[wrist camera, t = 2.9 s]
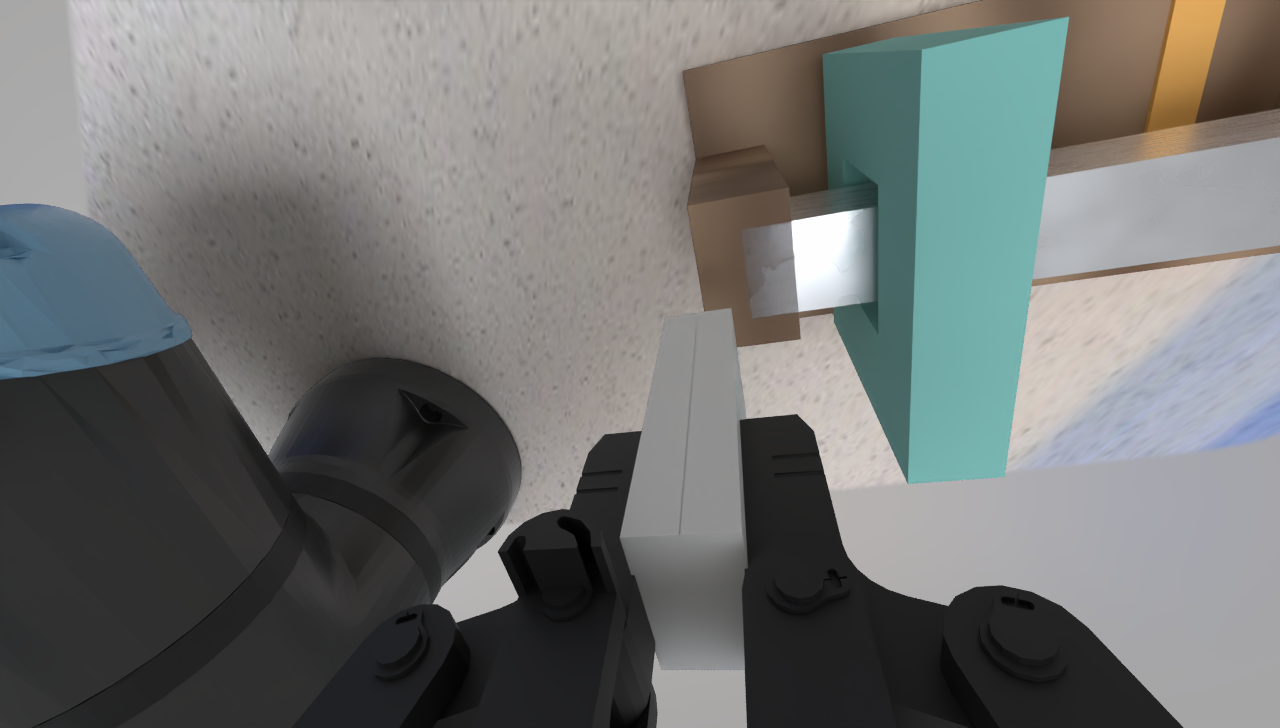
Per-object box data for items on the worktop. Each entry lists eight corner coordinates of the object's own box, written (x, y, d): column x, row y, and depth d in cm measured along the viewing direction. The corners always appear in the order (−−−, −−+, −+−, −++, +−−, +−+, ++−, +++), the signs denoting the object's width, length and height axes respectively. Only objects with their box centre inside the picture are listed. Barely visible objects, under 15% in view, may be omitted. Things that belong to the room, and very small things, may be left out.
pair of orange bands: (1115, 264, 24) (1316, 367, 16) (1178, -30, 19) (1517, -95, 11) (1157, 259, 24) (1382, 360, 16) (1232, -43, 19) (1622, -119, 11)
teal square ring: (834, 321, 25) (907, 483, 15) (822, 54, 20) (921, 50, 10) (891, 314, 24) (1004, 477, 15) (894, 37, 19) (1069, 17, 10)
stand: (721, 316, 29) (724, 432, 20) (684, 70, 24) (665, 77, 15) (1278, 238, 24) (1618, 345, 15) (1397, -99, 19) (2048, -249, 10)
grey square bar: (747, 285, 20) (751, 318, 18) (737, 206, 19) (740, 229, 16) (1499, 171, 16) (1652, 193, 13) (1558, 57, 14) (1742, 57, 12)
